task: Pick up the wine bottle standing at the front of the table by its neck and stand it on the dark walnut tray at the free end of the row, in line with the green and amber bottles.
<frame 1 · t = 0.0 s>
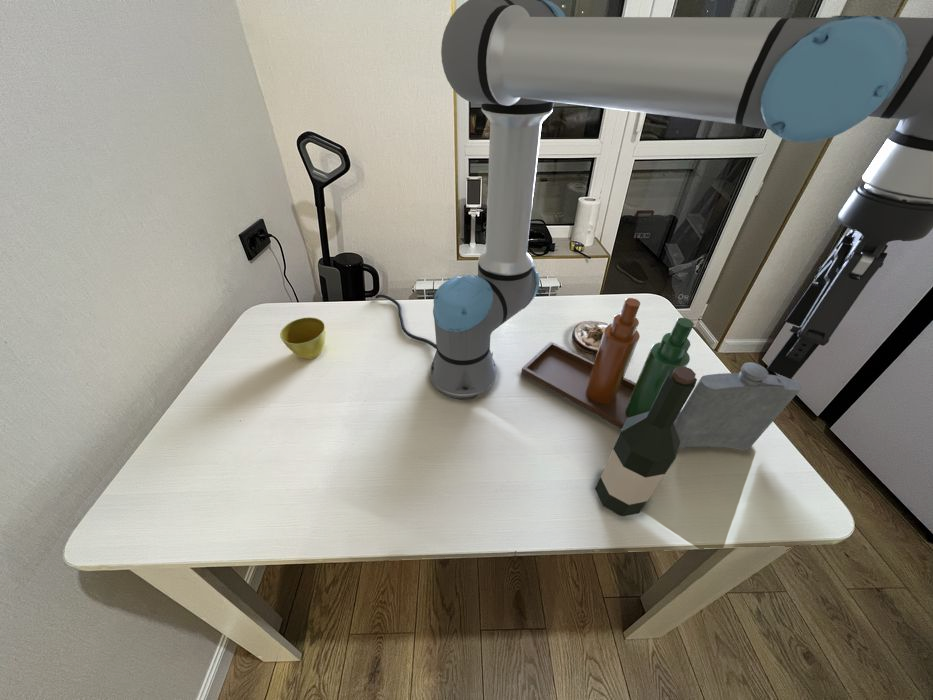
hand: (788, 347, 53), 28 cm above the table, tool pointing down, fingers open, 13 cm apart
amber bottle: (600, 392, 83), resting on tray
bowl of food: (595, 343, 97), on the table
wine bottle: (619, 494, 66), on the table
flower pot: (311, 353, 94), on the table
tray: (595, 393, 84), on the table
green bottle: (641, 414, 78), resting on tray
hip flask: (704, 443, 74), on the table
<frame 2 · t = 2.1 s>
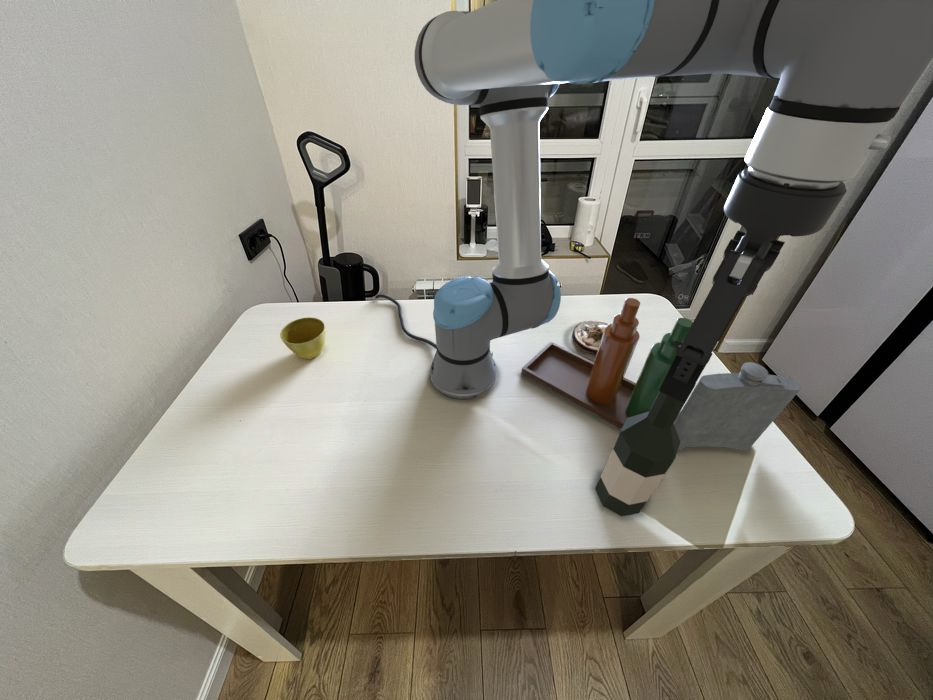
hand: (691, 362, 45), 32 cm above the table, tool pointing down, fingers open, 13 cm apart
nothing on the table moved.
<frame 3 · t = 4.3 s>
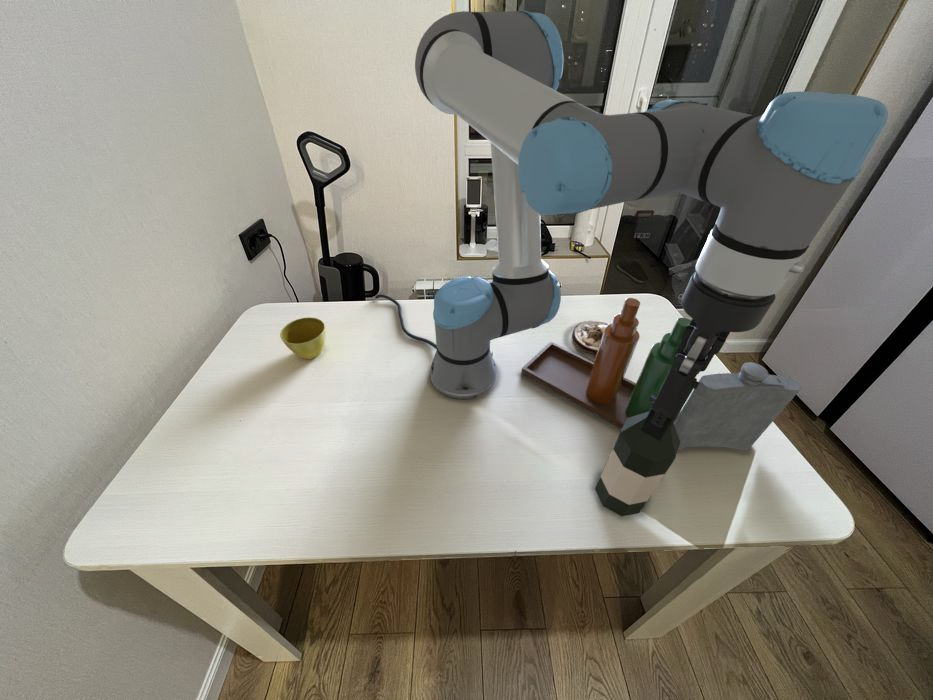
hand: (656, 425, 53), 20 cm above the table, tool pointing down, fingers closed on wine bottle, 3 cm apart
wine bottle: (619, 494, 66), on the table, touching gripper
everything else where it was.
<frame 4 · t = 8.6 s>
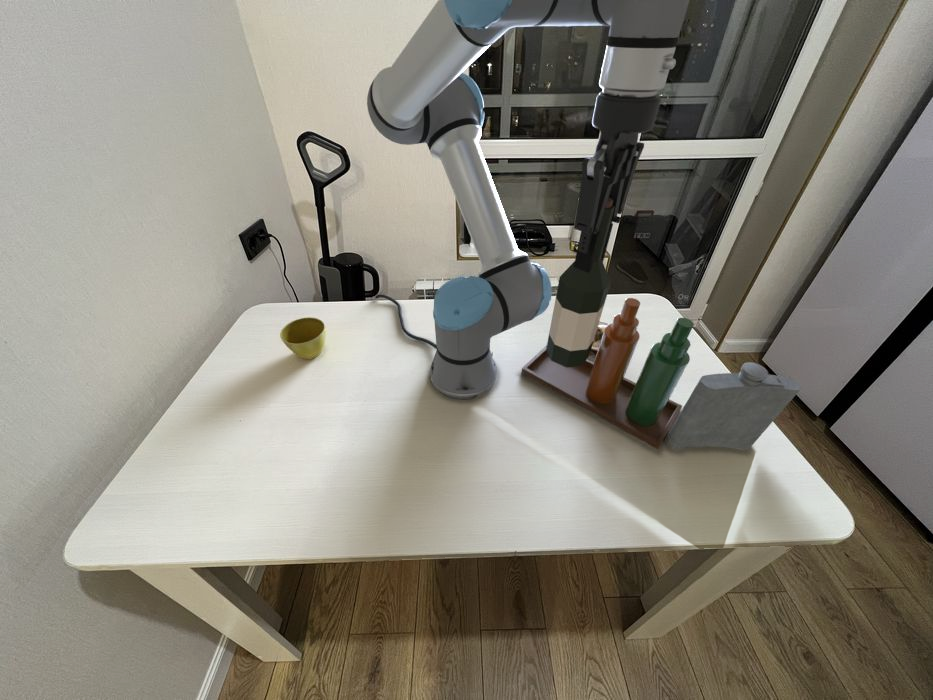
hand: (588, 264, 61), 33 cm above the table, tool pointing down, fingers closed on wine bottle, 3 cm apart
wine bottle: (567, 353, 75), point 13 cm above the table, touching gripper
everything else where it was.
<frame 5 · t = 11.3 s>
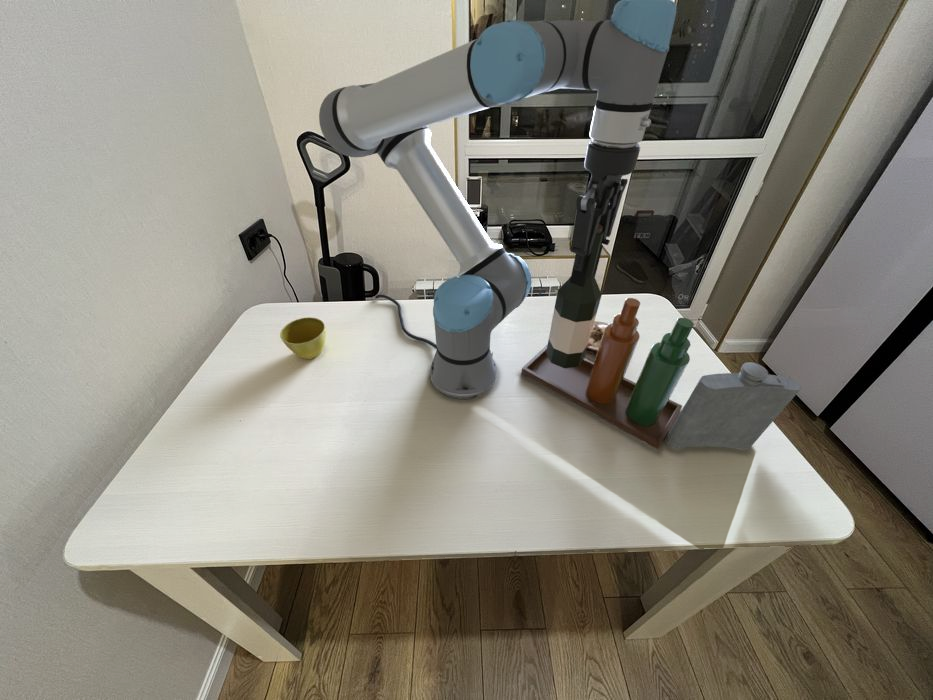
hand: (582, 279, 71), 25 cm above the table, tool pointing down, fingers closed on wine bottle, 3 cm apart
wine bottle: (564, 356, 84), point 6 cm above the table, touching gripper
everything else where it was.
when the fingers open (20 cm above the table, at t = 13.0 s): wine bottle stays where it is, resting on tray.
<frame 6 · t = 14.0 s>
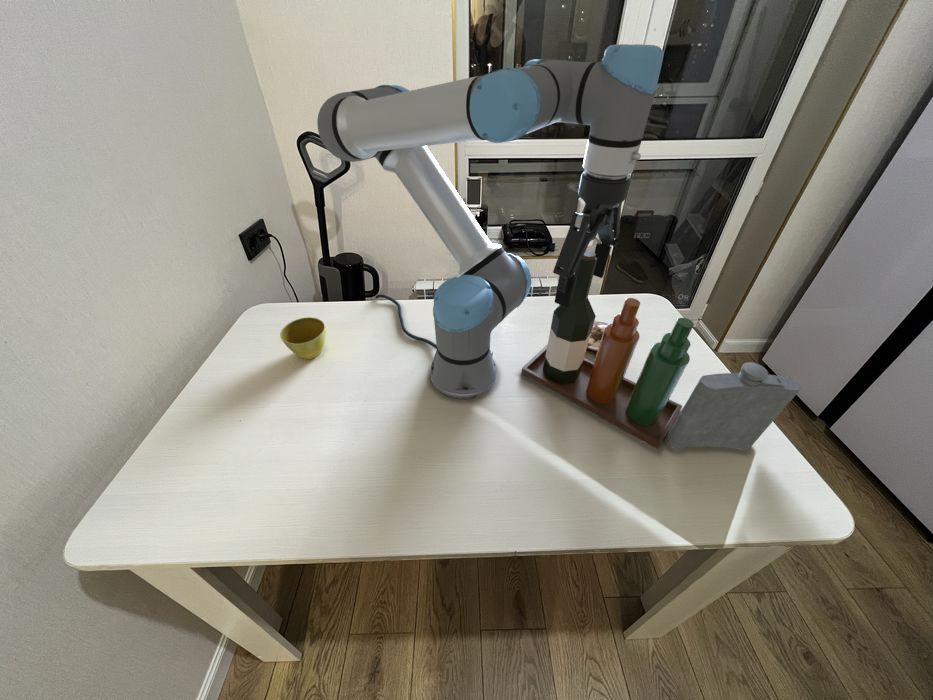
hand: (579, 289, 73), 23 cm above the table, tool pointing down, fingers open, 13 cm apart
wine bottle: (560, 372, 88), point 1 cm above the table, touching tray
everything else where it was.
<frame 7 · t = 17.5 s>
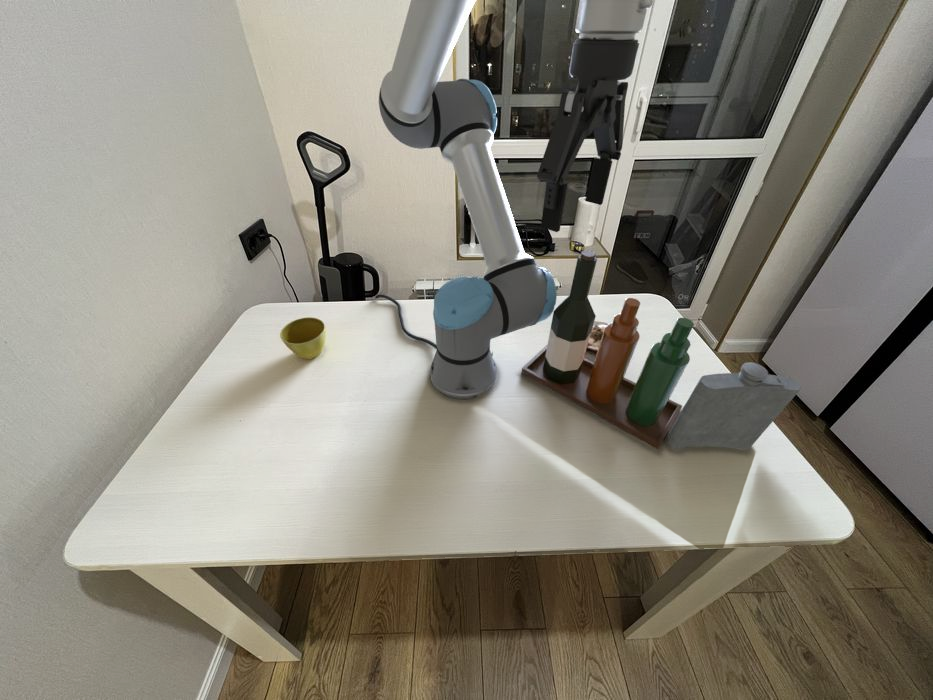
hand: (573, 215, 58), 40 cm above the table, tool pointing down, fingers open, 13 cm apart
nothing on the table moved.
at the end: wine bottle 0.0 cm from the target spot in the tray, point 0.6 cm above the tray's base; wine bottle tilted 0°; the gripper is holding nothing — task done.
